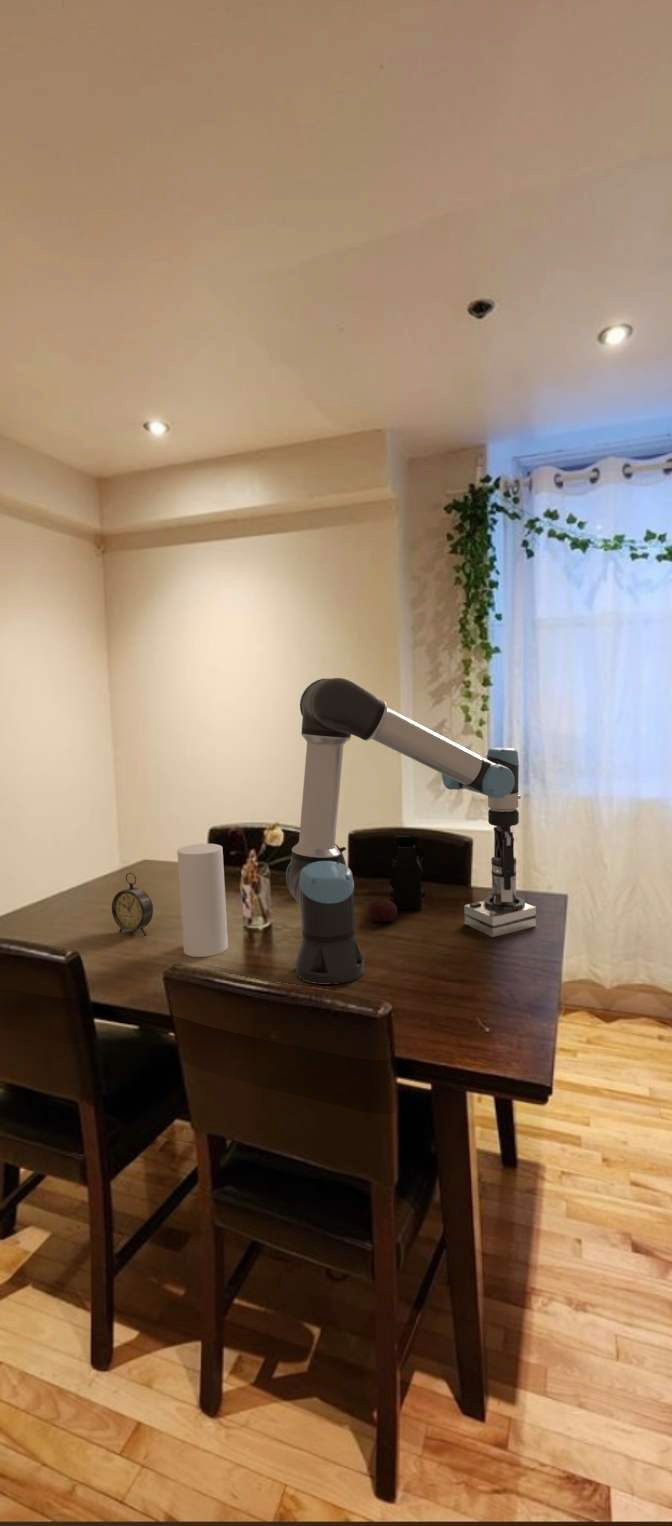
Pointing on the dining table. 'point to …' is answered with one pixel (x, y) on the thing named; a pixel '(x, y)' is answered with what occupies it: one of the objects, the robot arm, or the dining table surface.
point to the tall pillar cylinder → (202, 899)
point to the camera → (407, 874)
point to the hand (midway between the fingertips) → (504, 896)
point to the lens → (497, 882)
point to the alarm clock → (132, 908)
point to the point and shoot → (499, 916)
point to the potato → (382, 910)
